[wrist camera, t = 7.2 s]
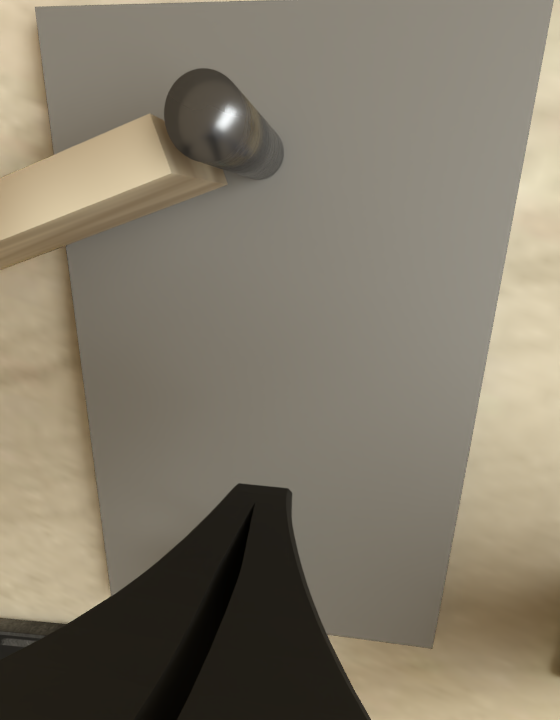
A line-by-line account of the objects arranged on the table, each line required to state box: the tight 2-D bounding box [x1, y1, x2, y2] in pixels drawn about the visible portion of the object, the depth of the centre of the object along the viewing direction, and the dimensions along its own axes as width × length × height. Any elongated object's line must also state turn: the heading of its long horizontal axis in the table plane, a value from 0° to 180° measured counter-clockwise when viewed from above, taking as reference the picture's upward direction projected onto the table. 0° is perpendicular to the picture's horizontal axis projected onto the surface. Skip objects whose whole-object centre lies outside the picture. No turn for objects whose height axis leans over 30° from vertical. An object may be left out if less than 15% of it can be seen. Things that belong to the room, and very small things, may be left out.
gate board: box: [35, 0, 554, 649], centre depth 17 cm, size 15×24×1 cm, turn 178°
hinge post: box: [164, 68, 284, 180], centre depth 12 cm, size 2×2×7 cm
